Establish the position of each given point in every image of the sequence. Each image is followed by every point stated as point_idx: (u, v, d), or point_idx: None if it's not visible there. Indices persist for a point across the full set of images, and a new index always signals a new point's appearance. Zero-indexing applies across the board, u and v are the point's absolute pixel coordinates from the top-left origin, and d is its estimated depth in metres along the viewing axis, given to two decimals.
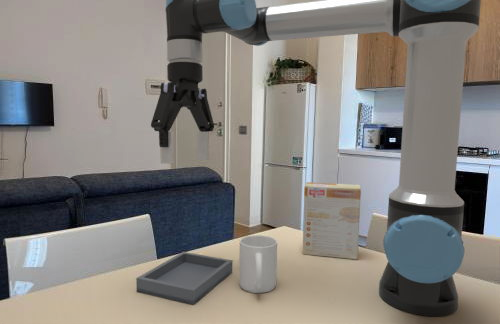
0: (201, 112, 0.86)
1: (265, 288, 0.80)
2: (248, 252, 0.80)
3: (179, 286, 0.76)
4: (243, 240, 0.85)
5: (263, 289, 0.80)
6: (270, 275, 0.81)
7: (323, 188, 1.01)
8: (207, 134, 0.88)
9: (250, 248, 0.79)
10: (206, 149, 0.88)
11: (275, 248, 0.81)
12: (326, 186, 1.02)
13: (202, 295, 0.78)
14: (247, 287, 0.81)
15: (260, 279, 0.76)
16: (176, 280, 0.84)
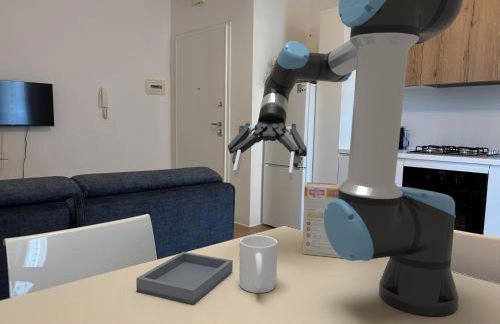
0: (285, 138, 0.96)
1: (265, 288, 0.80)
2: (248, 252, 0.80)
3: (179, 286, 0.76)
4: (243, 240, 0.85)
5: (263, 289, 0.80)
6: (270, 275, 0.81)
7: (323, 188, 1.01)
8: (292, 153, 0.93)
9: (250, 248, 0.79)
10: None
11: (275, 248, 0.81)
12: (326, 186, 1.02)
13: (202, 295, 0.78)
14: (247, 287, 0.81)
15: (260, 279, 0.76)
16: (176, 280, 0.84)
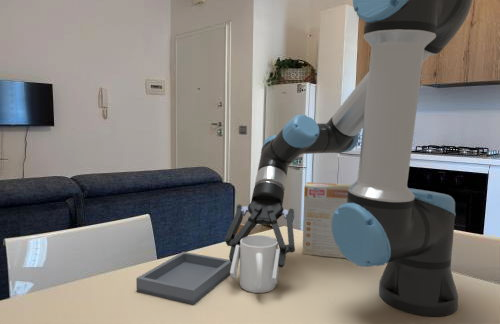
0: (275, 228, 0.84)
1: (265, 288, 0.80)
2: (249, 252, 0.80)
3: (179, 286, 0.76)
4: (243, 240, 0.85)
5: (263, 289, 0.80)
6: (270, 275, 0.81)
7: (323, 188, 1.01)
8: (277, 252, 0.80)
9: (251, 248, 0.79)
10: (274, 267, 0.78)
11: (275, 248, 0.81)
12: (326, 186, 1.02)
13: (202, 295, 0.78)
14: (247, 287, 0.81)
15: (260, 279, 0.76)
16: (176, 280, 0.84)
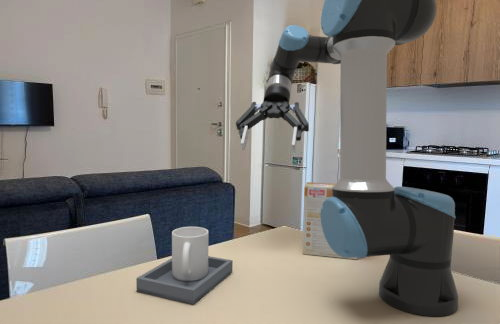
0: (288, 115, 1.04)
1: (194, 276, 0.84)
2: (178, 242, 0.83)
3: (179, 286, 0.76)
4: (177, 231, 0.88)
5: (192, 277, 0.83)
6: (199, 264, 0.84)
7: (323, 188, 1.01)
8: (295, 128, 1.00)
9: (179, 238, 0.83)
10: None
11: (205, 238, 0.84)
12: (326, 186, 1.02)
13: (202, 295, 0.78)
14: (177, 276, 0.84)
15: (186, 267, 0.79)
16: (176, 280, 0.84)
